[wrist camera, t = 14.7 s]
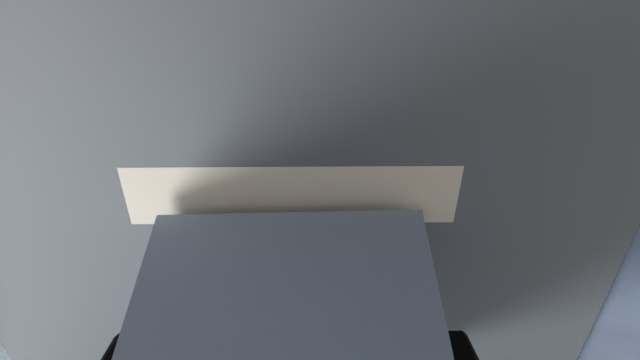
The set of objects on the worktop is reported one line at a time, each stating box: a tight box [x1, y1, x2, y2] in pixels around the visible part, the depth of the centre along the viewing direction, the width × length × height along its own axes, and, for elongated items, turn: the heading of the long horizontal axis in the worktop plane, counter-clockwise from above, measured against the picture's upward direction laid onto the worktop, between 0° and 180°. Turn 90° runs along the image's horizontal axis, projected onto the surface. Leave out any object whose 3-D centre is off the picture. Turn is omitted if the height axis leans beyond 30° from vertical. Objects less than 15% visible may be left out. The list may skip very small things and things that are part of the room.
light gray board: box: [0, 0, 640, 360], centre depth 13 cm, size 14×14×1 cm
